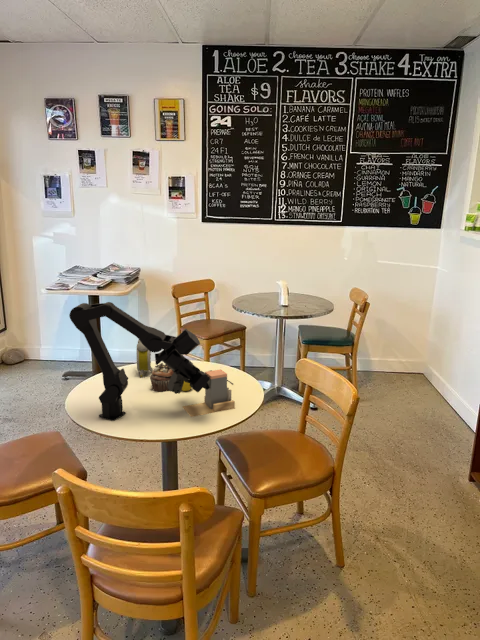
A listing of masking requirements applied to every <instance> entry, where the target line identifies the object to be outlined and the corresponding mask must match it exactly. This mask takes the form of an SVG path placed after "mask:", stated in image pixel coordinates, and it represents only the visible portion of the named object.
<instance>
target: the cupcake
mask: <svg viewBox="0 0 480 640" xmlns="http://www.w3.org/2000/svg"><path fill="white" fill-rule="evenodd" d="M173 373H174V372H173V371H172V370H171V368H170V367H169V366H167V365H166V364H165V363H164V362H160V363H159V364H158V365H155V366H154V368H153V371H152V372H151V374H150V376H149V379H150V383H151V388H152V391H154V392H158V393H164V392H171V391H170V390H169V389H168V388H167V386H168V383H169V381H170V378H171V376H172V375H173Z"/></svg>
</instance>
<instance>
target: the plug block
mask: <svg viewBox="0 0 480 640" xmlns="http://www.w3.org/2000/svg"><path fill="white" fill-rule="evenodd" d="M207 371H208V372H205V371H204V372H205V374H206V375H207V376H209V377H210V380H209V381H208V382H207V383H208V385H209V389H208V390H207V389H205V392H204V393H205V394H204V396H205V404H206V405H207V406H208V407H209V408H210V409H213V404H216V403H221V402H227V387H228V381H227V380H228V373H227V372H225V371H223V370H222V369H215V370H212V371H210V370H207Z"/></svg>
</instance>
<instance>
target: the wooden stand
mask: <svg viewBox="0 0 480 640" xmlns="http://www.w3.org/2000/svg"><path fill="white" fill-rule="evenodd" d="M203 398H204V402H200V403H195V404H189V405H183V406H181V408H183V409H184V411H185V412H186V414H188V415H189V416H190V418H192V417H193V418H194V417H199V416H202V415H203V416H204V415H208V414H213V413H218V412H224V411H229V410H233V409H236V407H235V406H236V405H235V404H236V403H235V400H232V389H229V387H228V386H227V402H221V403H216V404H213V409H210V408H209V407H208V406H207V405H206V404H205V395H204V397H203Z"/></svg>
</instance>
